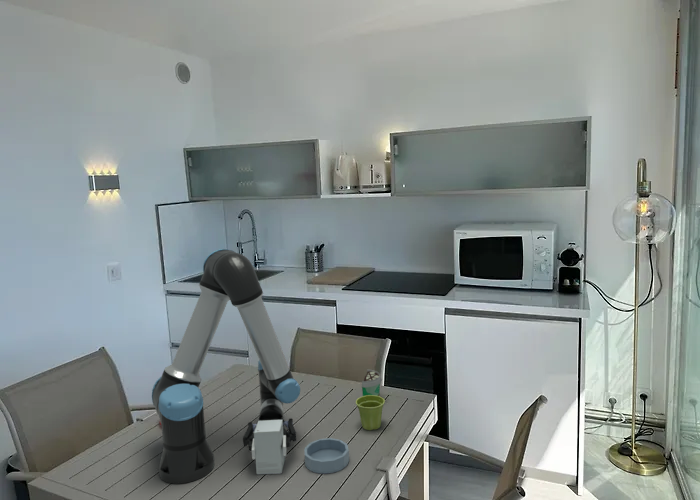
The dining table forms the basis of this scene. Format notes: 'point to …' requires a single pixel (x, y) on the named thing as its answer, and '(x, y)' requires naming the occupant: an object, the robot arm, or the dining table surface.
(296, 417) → the dining table surface
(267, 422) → the supplement box
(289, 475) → the dining table surface
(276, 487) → the dining table surface
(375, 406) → the plant pot
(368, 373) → the food container
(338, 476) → the dining table surface
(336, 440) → the bowl
